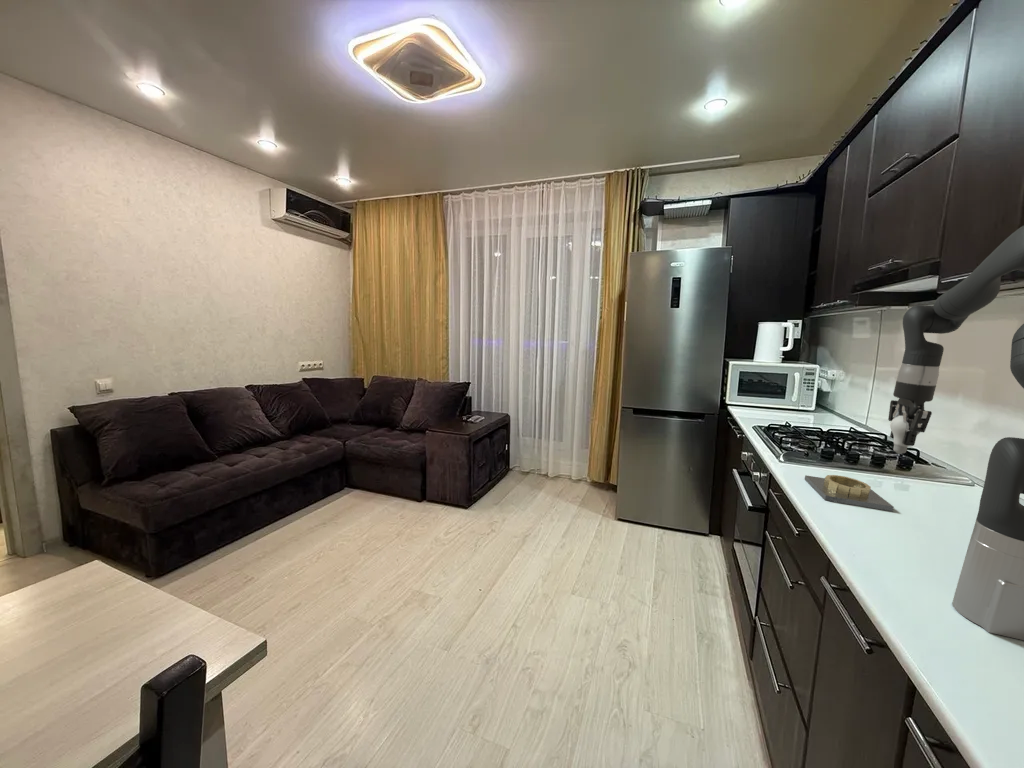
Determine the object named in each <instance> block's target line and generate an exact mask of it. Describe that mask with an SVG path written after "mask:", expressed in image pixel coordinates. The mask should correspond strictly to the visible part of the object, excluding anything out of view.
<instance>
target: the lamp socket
mask: <svg viewBox="0 0 1024 768" xmlns="http://www.w3.org/2000/svg"><path fill="white" fill-rule="evenodd" d="M803 480H804V481H805V482H807V484H808V485H809V486H810V487H811V488H812V489H813V490H814V491H815V492H816V493H817V494H818V495H819V496H820V497H821V498H822V500H823V501H827V502H833V503H837V504H838V503H839V504H844V505H850V506H854V507H855V506H856V507H862V508H868V509H875V510H880V511H886V512H894V508H895V507H894V506H893V504H891V503H890V502H888V501H887V500H886V499H885V498H883V497H882V496H880V495H879V494H878V493H877V492H875V491H874V490H873V489H871V488H872V487H871V486H870V485H869V484H867V482H863V481H861V480H858V479H856V478H852V477H848V476H844V475H838V474H827V475H826V476H825V477H821V476H820V477H819V476H812V475H804V479H803Z"/></svg>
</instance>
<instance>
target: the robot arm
mask: <svg viewBox="0 0 1024 768" xmlns="http://www.w3.org/2000/svg"><path fill="white" fill-rule="evenodd" d="M1014 271H1015V272H1016V271H1020V272H1024V225H1022V226H1020V227H1019V228H1017V229H1016V230H1015V231H1013V232H1012V233H1011V234H1010V235H1009V236H1008V237H1006V238H1005V239H1004V241H1002V242H1001V243H1000V244H999V245H998V246H997V247H996V248H995V249H994V250H993V251H992V252H991V253H990V254H989V255H988V256H987V257H986V258H985V259H984V260H983V261H982V262H980V264H978V266H976V268H975V269H973V271H972V272H971V273H970V274H969V275H967V276H966V277H965V278H964V279H963V280H961V281H960V282H958V283H957V284H956V285H954V286H953V287H951V288H950V289H948V290H946V291H945V292H944V293H943V294H941V295H940V296H938V297H937V298H936V299H935V301H934V303H933V305H925V304H924V305H922V304H921V305H912V307H909V309H908V310H907V311H905V313H904V315H903V317H902V330H903V334H904V335H903V336H904V346H905V347H904V353H903V357H902V361H901V364H900V367H899V370H898V373H897V377H896V382H895V386H894V389H893V396H894V397H895V398H897V399H898V400H893V399H891V401H890V402H889V403H890V404H889V412H888V419H887V420H888V421H889V422H891V421H892V420H893V419H894V418H896V417H897V416H903V422H904V423H906V431H905V434H904V438H903V442H902V443H903V444H904V445H908V447H913V446H915V443H916V439H917V437H918V435H917V433H919V432H920V433H925V432H926V429H927V427H928V423H930V419H931V416H932V415H933V413H932V411H930V410H925V403H926V402H932V401H933V399H934V395H935V392H936V387H937V384H938V380H939V376H940V367H941V363H942V358H943V355H944V350H945V348H944V346H943V345H942V344H940V343H938V342H937V343H935V342H933V341H932V342H931V341H928V340H926V338H925V334H940V335H942V334H949V333H952V332H955V331H957V330H958V329H959V328H960V327H961V326H962V325H963V324H964V322H965V321H966V320H967V319H968V318H969V316H970V315H972V314H974V313H976V312H978V311H979V310H981V309H983V308H985V307H986V306H988V305H989V304H991V303H992V302H993V301H995V299H996V298H997V296H998V295H999V293H1000V290H1001V285H1002V283H1001V282H1002V281H1001V280H1002V279H1001V278H1002V277H1003V276H1005V275H1006V274H1010V273H1011V272H1012V273H1013V272H1014ZM1010 347H1011V348H1010V364H1009V365H1010V366H1009V368H1010V372H1011V374H1012V376H1013V377H1014V378H1015V380H1016V382H1017V383H1018V384H1019V385H1020V386H1021V388H1022V389H1023V390H1024V323H1023V324H1021V325H1020V327H1018V328H1017V330H1016V331H1015V333H1014V334H1013V336H1012V340H1011V346H1010ZM909 419H914V420H909ZM911 423H912V425H911ZM920 424H921V427H920ZM920 433H919V434H920ZM889 438H890V439H893V440H894V435H893V433H892V430H891V429H890V434H889ZM987 462H988V463H987V466H986V467H987V468H986V474H985V479H984V482H983V483H984V484H983V488H982V491H981V495H980V499H979V507H978V512H977V515H976V519H975V521H974V525H973V529H972V533H971V536H970V539H969V543H968V545H967V550H966V553H965V556H964V560H963V562H962V563H963V564H962V566H961V570H960V574H959V578H958V581H957V584H956V588H955V591H954V594H953V600H952V602H951V604H952V607H953V608H954V610H955V611H957V612H958V613H959V614H960V615H961V616H963V617H964V618H966V619H967V620H969V621H971V622H973V623H974V624H976V625H978V626H979V627H982V628H983V630H985V631H986V632H988V633H991V634H994V635H998V636H999V635H1000V636H1005V637H1008V638H1013V639H1017V640H1021V641H1024V504H1022V503H1020V495H1024V438H1021V437H1014V436H1011V437H1010V436H1009V437H1006V436H1005V437H1003V438H1000V440H998V441H996V443H995V445H994V446H993V448H992V449H991V451H990V455H989V458H988V461H987Z"/></svg>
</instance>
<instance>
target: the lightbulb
mask: <svg viewBox="0 0 1024 768" xmlns="http://www.w3.org/2000/svg"><path fill="white" fill-rule="evenodd" d="M909 420H914V419H909ZM889 425H890V427H889V428H890V431H891V430H892V433H893V435H894V439H893V452H895V453H896V454H898V455H901V454H905V453H907V450H908V447H909V446H908V445H904V444H903V443H902V442H903V438H904V434H905V431H906V423H904V422H903V416H897V417H896V418H894V419H893V420H892V421H890V424H889ZM911 425H912V423H911ZM921 425H922V424H920V427H921ZM920 433H921V432H919V433H917V436H918V435H919V434H920Z"/></svg>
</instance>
